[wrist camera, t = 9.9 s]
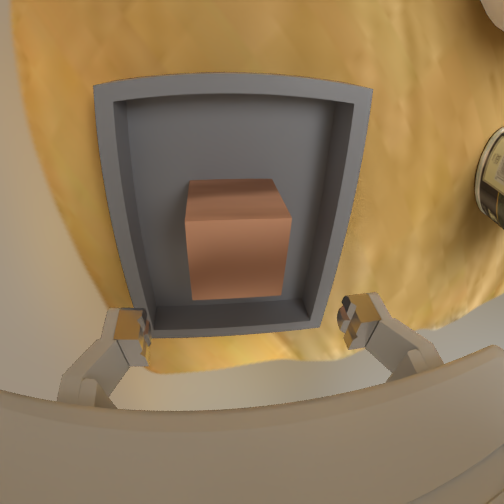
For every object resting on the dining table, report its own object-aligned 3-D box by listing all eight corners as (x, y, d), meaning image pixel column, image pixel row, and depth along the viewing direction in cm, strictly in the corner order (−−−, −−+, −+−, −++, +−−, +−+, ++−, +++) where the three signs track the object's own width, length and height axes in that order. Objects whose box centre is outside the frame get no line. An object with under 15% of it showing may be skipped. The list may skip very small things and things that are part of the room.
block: (189, 180, 17) (184, 221, 13) (271, 178, 18) (292, 218, 14) (194, 248, 20) (192, 300, 16) (266, 245, 21) (281, 295, 17)
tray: (114, 80, 14) (93, 85, 11) (345, 82, 16) (373, 89, 13) (148, 306, 24) (143, 338, 21) (308, 297, 26) (319, 327, 23)
